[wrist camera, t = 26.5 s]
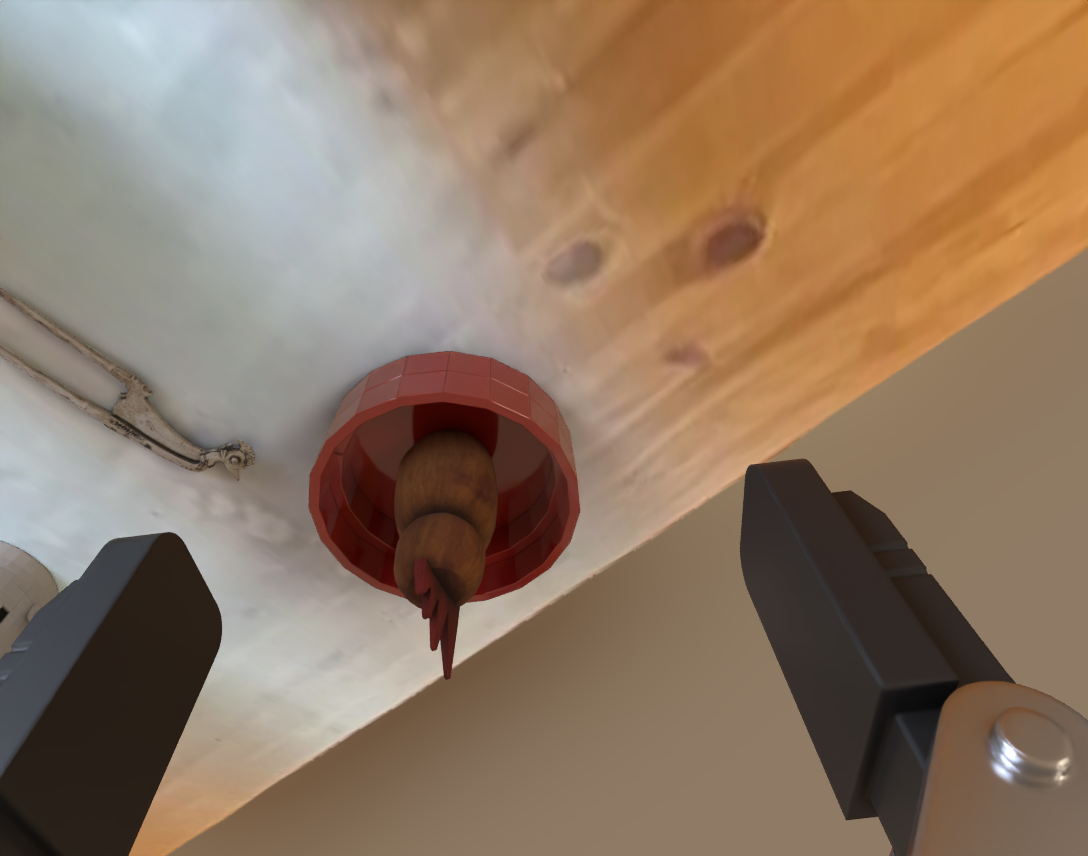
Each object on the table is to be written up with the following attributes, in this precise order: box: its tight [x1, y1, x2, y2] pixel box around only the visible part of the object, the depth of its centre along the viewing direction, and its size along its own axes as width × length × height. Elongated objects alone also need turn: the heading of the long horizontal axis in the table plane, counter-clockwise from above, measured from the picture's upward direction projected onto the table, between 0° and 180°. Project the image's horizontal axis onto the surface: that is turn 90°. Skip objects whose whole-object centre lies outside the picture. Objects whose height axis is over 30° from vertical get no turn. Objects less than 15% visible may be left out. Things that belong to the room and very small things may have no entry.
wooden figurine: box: [394, 429, 498, 680], centre depth 35 cm, size 7×6×15 cm
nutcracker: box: [0, 288, 255, 481], centre depth 38 cm, size 16×1×5 cm
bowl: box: [309, 351, 580, 603], centre depth 40 cm, size 15×15×6 cm
